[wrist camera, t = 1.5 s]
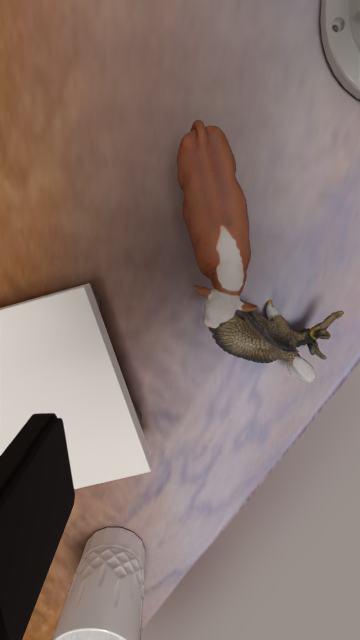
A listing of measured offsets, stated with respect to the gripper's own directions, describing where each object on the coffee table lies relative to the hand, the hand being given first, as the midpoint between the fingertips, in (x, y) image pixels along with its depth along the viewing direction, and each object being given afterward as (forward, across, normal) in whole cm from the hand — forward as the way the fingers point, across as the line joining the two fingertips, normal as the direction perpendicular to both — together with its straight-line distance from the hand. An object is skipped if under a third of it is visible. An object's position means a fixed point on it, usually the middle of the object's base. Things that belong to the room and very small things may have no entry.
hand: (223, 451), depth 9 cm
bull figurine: (+21, -1, -6) cm, 22 cm away
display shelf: (+20, +15, +8) cm, 26 cm away
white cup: (+20, +10, +29) cm, 37 cm away
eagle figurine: (+21, -6, +3) cm, 22 cm away
